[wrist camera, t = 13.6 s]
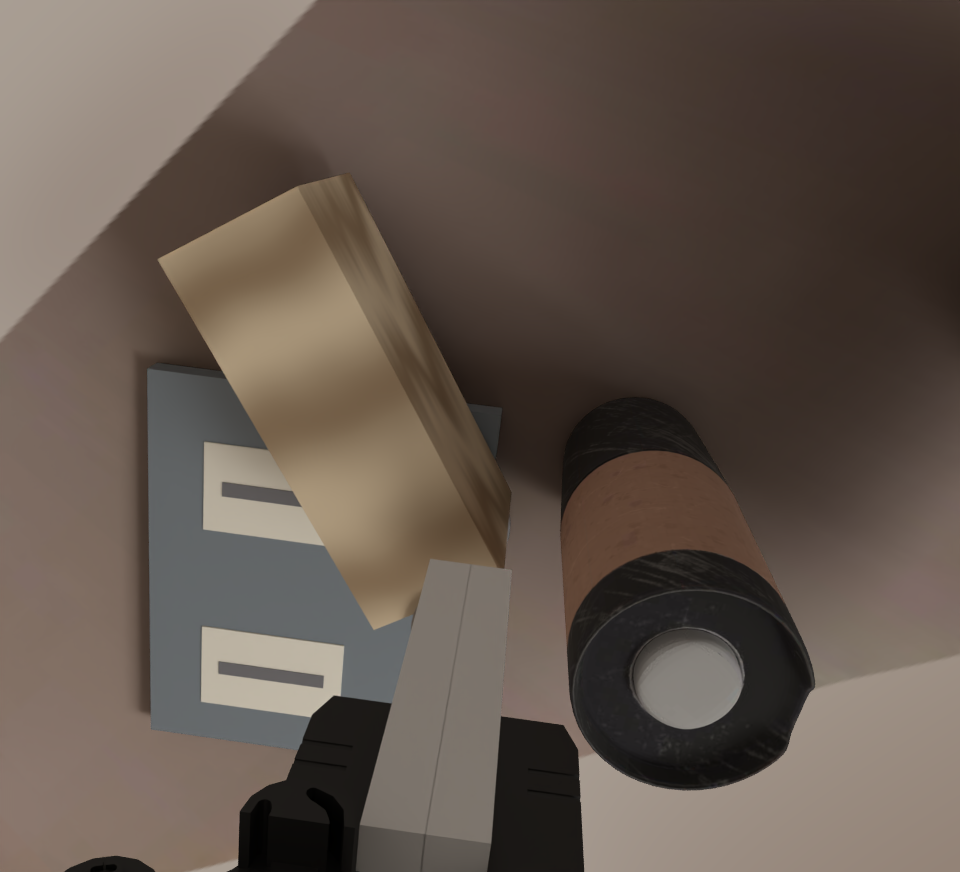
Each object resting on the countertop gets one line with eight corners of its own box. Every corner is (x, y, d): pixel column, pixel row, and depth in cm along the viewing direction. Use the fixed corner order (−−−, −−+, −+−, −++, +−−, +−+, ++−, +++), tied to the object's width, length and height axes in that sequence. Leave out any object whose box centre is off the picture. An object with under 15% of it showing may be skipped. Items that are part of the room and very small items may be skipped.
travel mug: (531, 435, 46) (520, 650, 28) (664, 364, 45) (751, 540, 26) (601, 552, 48) (637, 828, 29) (732, 488, 47) (860, 737, 28)
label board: (525, 410, 46) (524, 423, 44) (477, 761, 53) (474, 784, 51) (156, 362, 46) (140, 372, 45) (159, 716, 54) (145, 738, 52)
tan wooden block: (532, 533, 46) (529, 633, 37) (427, 576, 47) (399, 682, 38) (349, 172, 40) (294, 186, 31) (236, 231, 42) (152, 261, 33)
